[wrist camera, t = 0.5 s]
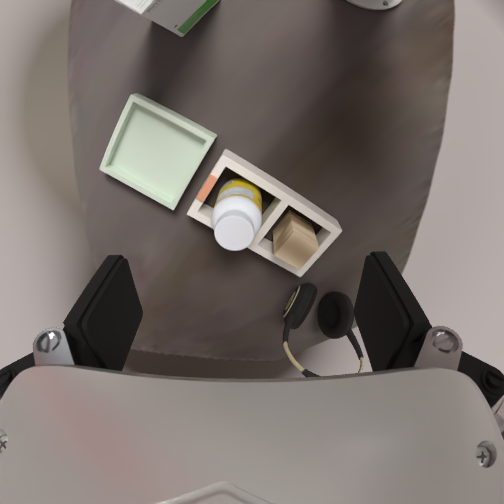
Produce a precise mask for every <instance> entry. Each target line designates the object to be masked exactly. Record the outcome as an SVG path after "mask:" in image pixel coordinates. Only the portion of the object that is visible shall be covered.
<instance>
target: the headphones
mask: <svg viewBox="0 0 504 504" xmlns="http://www.w3.org/2000/svg"><path fill="white" fill-rule="evenodd" d="M316 294H317V288H316V287H315V285H313V284H311V283H305V284H302V285H299V286H298V287H297V289H296V290H295V291H294V293H293V294H292V296H291V298H290V300H289V301H288V304H287V306H286V308H285V311H284V314H283V317H284V322H285V327H284V331H283V345H284V349H285V351H286V354H287V355H288V357H289V359H290V360H291V361H292V363H293V364H294V365H295V366H296V367H297V368H298V369H299V370H300V371H301V372H302V374H303V375H304V376H305V377H320V376H319V375H316V374H314V373H312V372H310V371H308V370H307V369H304V368H303V367H302V366H300V365H299V364H298V362H296V360H295V359H294V358H293V356H292V355H291V353H290V351H289V349H288V346H287V343H288V335H289V330H290V328H291V329H297V328H298V327H299V326H300V325H301V324H302V323H303V321H304V320H305V318H306V317H307V315H308V313H309V311H310V309H311V307H312V305H313V303H314V300H315V297H316ZM353 321H354V308H353V305H352V303H351V301H350V299H349V298H348V296H347V295H345V294H343V293H341V292H331V293H329V294H327V295H326V296H325V297H324V298H323V300H322V301H321V303H320V306H319V309H318V323H319V326H320V329H321V331H322V332H323V333H324V335H326V336H327V337H329V338H332V339H337V338H341V337H343V336H345V335H347V337H348V339H349V340H350V342H351V343H352V345H353V347H354V349H355V350H356V353H357V355H358V358H359V360H360V369H359V371H358V373H361V371H362V369H363V364H364V361H363V354H362V351H361V348H360V346H359V344H358V342H357V339H356V337H355V335H354V333H353V332H352V330H351V327H352V324H353Z"/></svg>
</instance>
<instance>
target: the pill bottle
mask: <svg viewBox="0 0 504 504" xmlns="http://www.w3.org/2000/svg"><path fill="white" fill-rule="evenodd" d="M261 223H262V196H261V192H260V189H259V188H258V186H257V185H256V184H254V183H253V182H251V181H249V180H248V179H246V178H234V179H231V180H229V181H227V182H226V183H225V184H224V185H223V186H222V187H221V189H220V192H219V195H218V198H217V200H216V203H215V206H214V209H213V211H212V215H211V224H212V227H213V230H214V234H215V238H216V240H217V242H218V243H219V244H220V245H221V246H222V247H224V248H226V249H228V250H233V251H237V250H242V249H244V248H246V247H248V246H249V245H250V244H251V242H252V241H253V238H254V237H255V236H256V234H257V233H258V232H259V230H260V227H261Z"/></svg>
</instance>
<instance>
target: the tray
mask: <svg viewBox="0 0 504 504" xmlns="http://www.w3.org/2000/svg"><path fill="white" fill-rule="evenodd" d="M216 137H217V135H216V134H214V133H213V132H211V131H209V130H207V129H206V128H204V127H202V126H200V125H198V124H197V123H195V122H193V121H191V120H189V119H187V118H186V117H184V116H182V115H180V114H178V113H176V112H174V111H172V110H170V109H169V108H167V107H165V106H163V105H161V104H159V103H157V102H155V101H153V100H151V99H149V98H147V97H145V96H143V95H141V94H139V93H136V94H131V95H130V97H129V99H128V102H127V104H126V106H125V108H124V110H123V112H122V114H121V117H120V119H119V121H118V123H117V126H116V128H115V130H114V133H113V135H112V137H111V140H110V142H109V145H108V147H107V150H106V152H105V155H104V158H103V160H102V163H101V166H100V170H101V171H103V172H105V173H107V174H109V175H110V176H112V177H114V178H116V179H118V180H119V181H121V182H123V183H125V184H127V185H128V186H130V187H132V188H134V189H136V190H137V191H139V192H141V193H143V194H145V195H147V196H148V197H150V198H152V199H154V200H156V201H157V202H159V203H161V204H163V205H165V206H166V207H168V208H170V209H172V210H174V209H175V207H176V205H177V204H178V202H179V200H180V198H181V196H182V195H183V193H184V191H185V189H186V187H187V186H188V184H189V182H190V180H191V179H192V177H193V175H194V173H195V172H196V170H197V168H198V167H199V165H200V163H201V162H202V160H203V158H204V156H205V155H206V153H207V152H208V150H209V148H210V147H211V145H212V143H213V142H214V140H215V138H216Z"/></svg>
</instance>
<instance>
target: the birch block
mask: <svg viewBox="0 0 504 504" xmlns="http://www.w3.org/2000/svg"><path fill="white" fill-rule="evenodd" d="M273 243H274V255H275V256H276V257H278V258H280V259H282V260H283V261H285V262H287V263H289V264H290V265H292V266H294V267H296V268H297V269H299V270H300V269H301V268H302V266H303V265H304V264H305V263H306V262H307V261H308V260H309V259H310V258H311V257H312V255H313V254H314V253H315V252H316V251H317V250H318V249H319V246H318V242H317V239H316V236H315V232H314V229H313V226H312V224H311V223H309V222H308V221H306V220H305V219H303V218H302V217H300V216H298V215H297V214H295V213H294V212H292V211H291V210H289V211H288V212H287V213H286V215H285V216H284V217H283V218H282V220H281V221H280V222H279V224H278V225H277V226H276V227H275V229H274V230H273Z"/></svg>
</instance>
